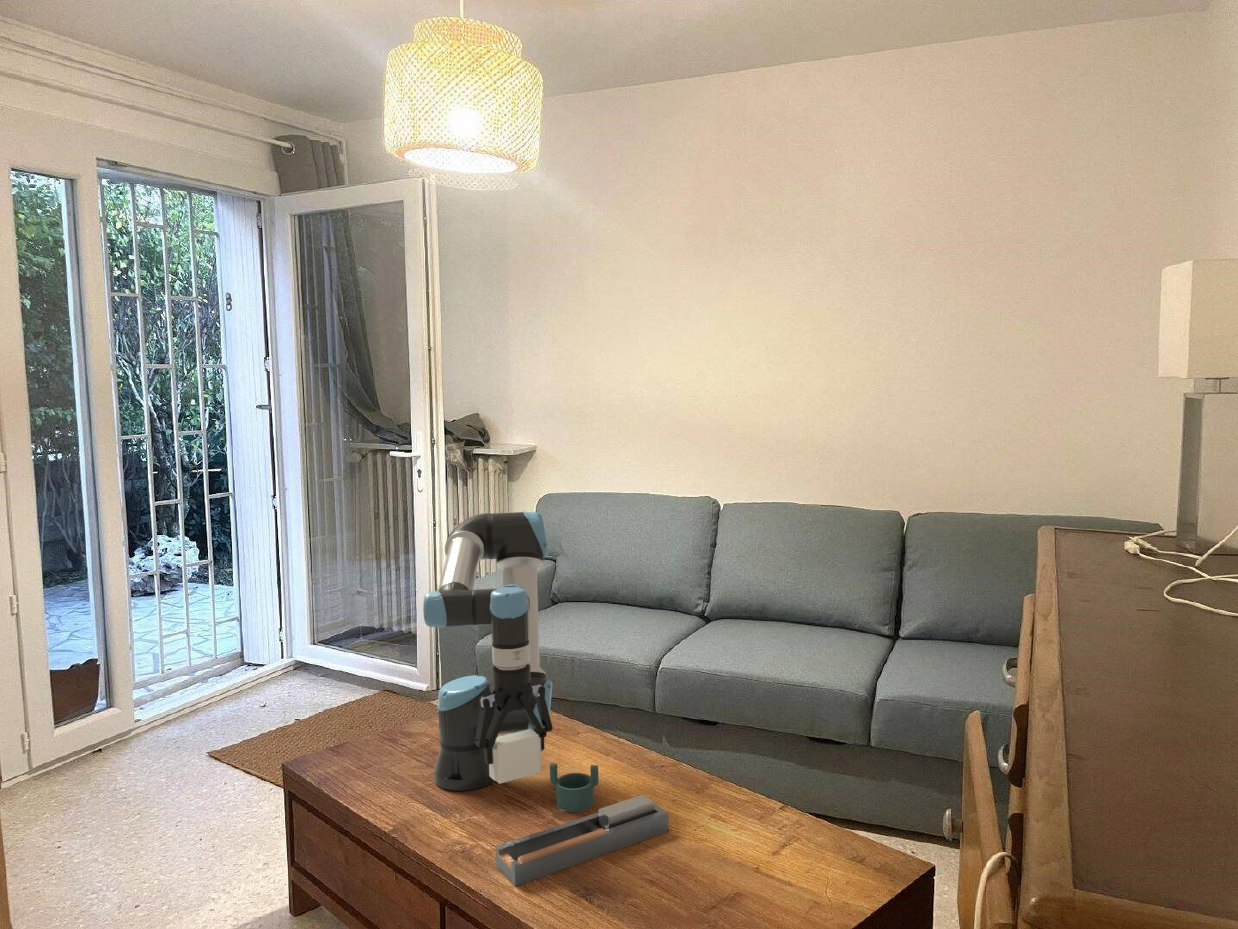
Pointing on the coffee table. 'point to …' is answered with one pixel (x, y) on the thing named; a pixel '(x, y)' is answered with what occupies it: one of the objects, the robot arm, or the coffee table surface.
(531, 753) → the block
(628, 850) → the coffee table surface
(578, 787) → the teal cylindrical holder
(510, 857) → the rack
